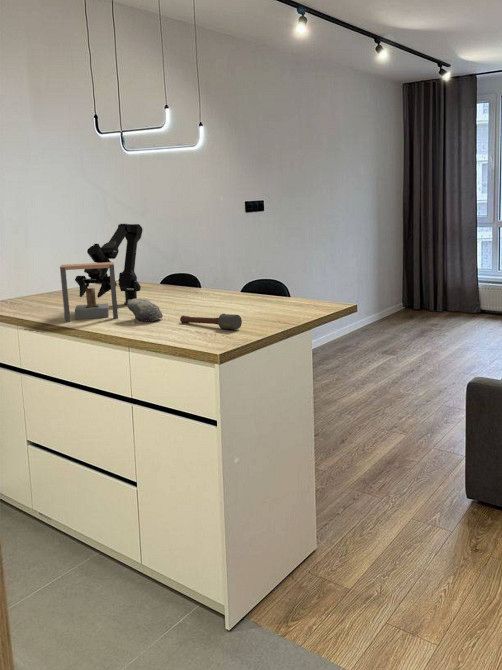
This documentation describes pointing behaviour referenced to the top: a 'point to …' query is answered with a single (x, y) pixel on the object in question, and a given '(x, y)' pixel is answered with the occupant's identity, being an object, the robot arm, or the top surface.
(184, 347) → the top surface
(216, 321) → the mallet
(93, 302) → the peg
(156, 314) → the rock
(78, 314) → the socket stand
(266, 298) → the top surface
